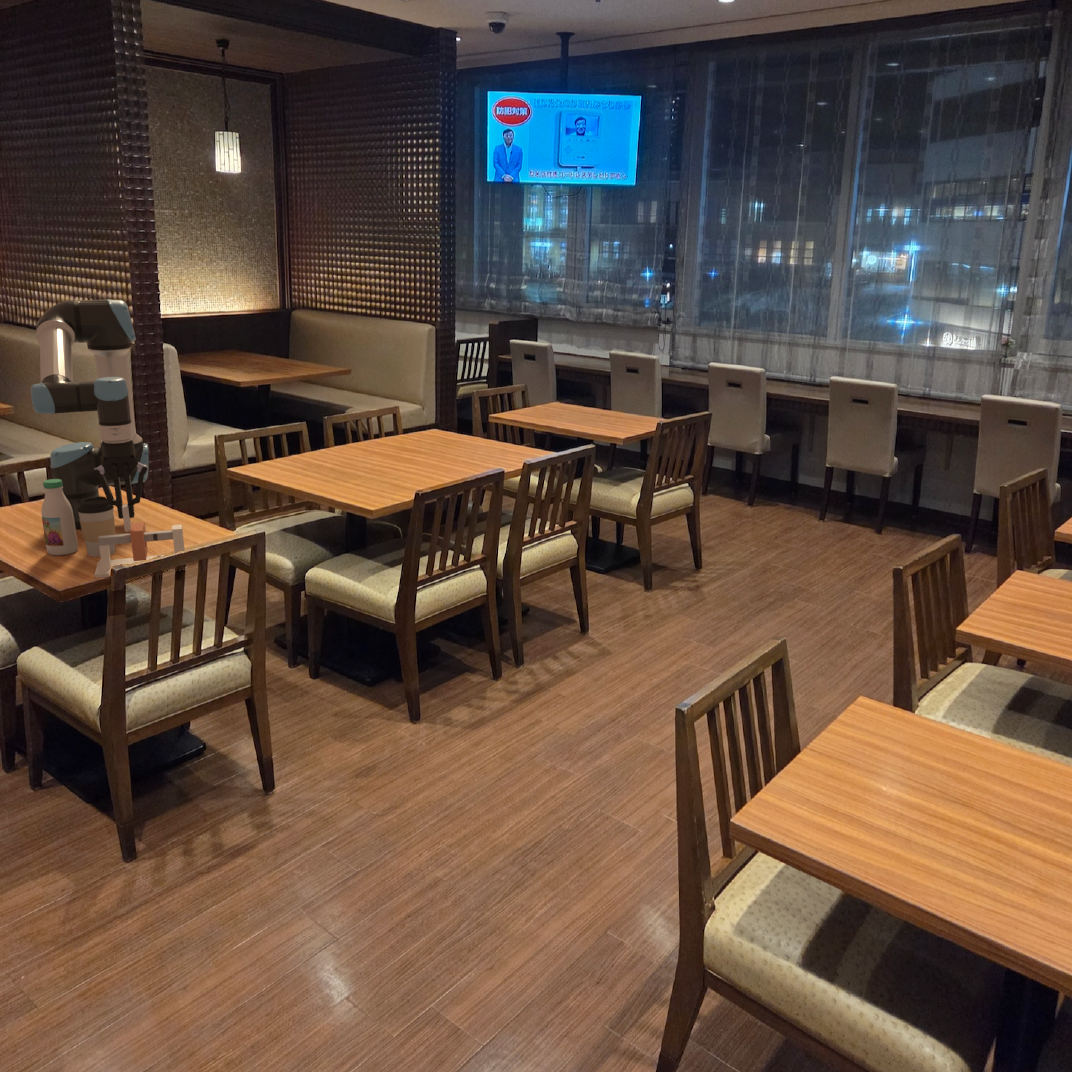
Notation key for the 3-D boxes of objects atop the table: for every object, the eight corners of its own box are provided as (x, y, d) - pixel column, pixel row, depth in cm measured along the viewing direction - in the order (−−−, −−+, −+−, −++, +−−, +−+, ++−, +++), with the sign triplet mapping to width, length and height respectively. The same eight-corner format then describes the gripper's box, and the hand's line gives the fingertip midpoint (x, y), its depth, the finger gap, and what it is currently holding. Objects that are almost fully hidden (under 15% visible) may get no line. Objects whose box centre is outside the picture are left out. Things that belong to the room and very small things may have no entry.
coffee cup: (106, 559, 256) (98, 505, 251) (76, 556, 257) (68, 503, 253) (126, 548, 264) (119, 496, 259) (97, 546, 266) (90, 494, 261)
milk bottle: (70, 545, 266) (60, 475, 260) (83, 551, 262) (73, 480, 256) (42, 551, 261) (30, 480, 254) (55, 558, 256) (44, 486, 250)
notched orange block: (135, 551, 253) (131, 522, 250) (147, 550, 254) (144, 521, 251) (133, 561, 246) (129, 531, 243) (146, 560, 246) (142, 530, 244)
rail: (98, 563, 252) (93, 527, 249) (187, 555, 259) (183, 520, 256) (94, 577, 242) (89, 540, 239) (186, 569, 249) (183, 532, 246)
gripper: (87, 444, 234) (99, 536, 241) (144, 441, 238) (154, 532, 245) (90, 438, 241) (102, 527, 248) (145, 435, 245) (155, 523, 252)
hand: (128, 529), depth 247 cm, fingers closed
